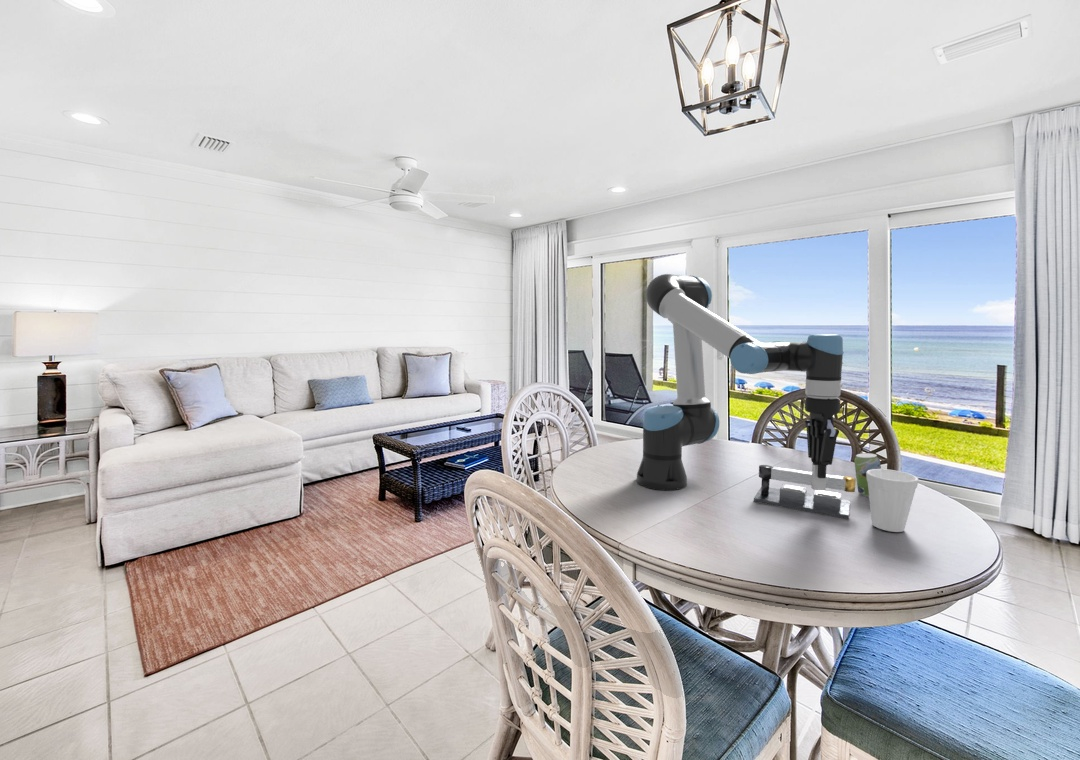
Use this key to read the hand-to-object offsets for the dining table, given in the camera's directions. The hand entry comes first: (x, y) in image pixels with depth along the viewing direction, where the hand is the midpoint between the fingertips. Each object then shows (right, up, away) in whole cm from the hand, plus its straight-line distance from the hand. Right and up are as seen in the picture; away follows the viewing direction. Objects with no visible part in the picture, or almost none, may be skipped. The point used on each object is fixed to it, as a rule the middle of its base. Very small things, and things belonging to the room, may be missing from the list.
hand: (818, 489), depth 120 cm
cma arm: (+1, 0, +8) cm, 8 cm away
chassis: (+1, -6, +10) cm, 12 cm away
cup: (+13, -8, -7) cm, 16 cm away
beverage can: (+23, -6, +15) cm, 28 cm away
